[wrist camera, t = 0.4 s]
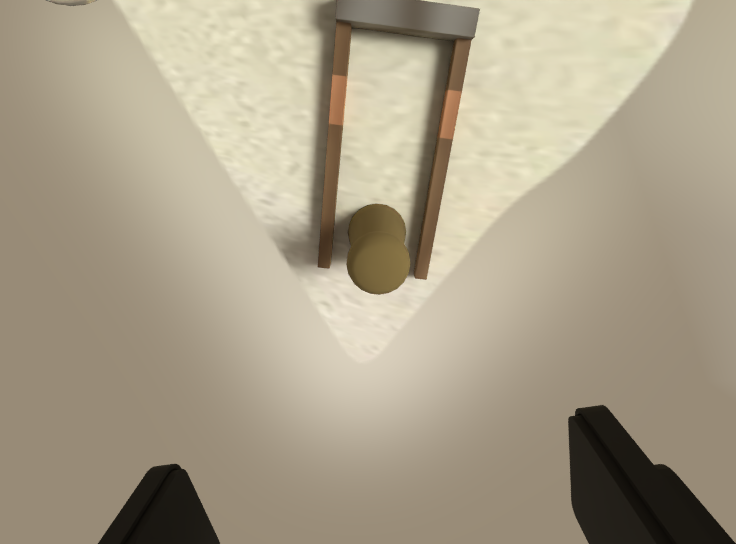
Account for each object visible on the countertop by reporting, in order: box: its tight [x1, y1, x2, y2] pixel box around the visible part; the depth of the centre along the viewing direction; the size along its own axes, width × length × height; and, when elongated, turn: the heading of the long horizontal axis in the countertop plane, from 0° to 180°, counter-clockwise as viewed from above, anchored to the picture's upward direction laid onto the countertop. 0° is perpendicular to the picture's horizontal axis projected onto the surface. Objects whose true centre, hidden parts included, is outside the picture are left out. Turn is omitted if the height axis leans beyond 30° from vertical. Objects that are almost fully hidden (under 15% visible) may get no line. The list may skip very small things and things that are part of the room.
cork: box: [346, 204, 410, 294], centre depth 35 cm, size 6×6×11 cm
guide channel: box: [318, 0, 480, 280], centre depth 36 cm, size 11×24×2 cm, turn 173°
